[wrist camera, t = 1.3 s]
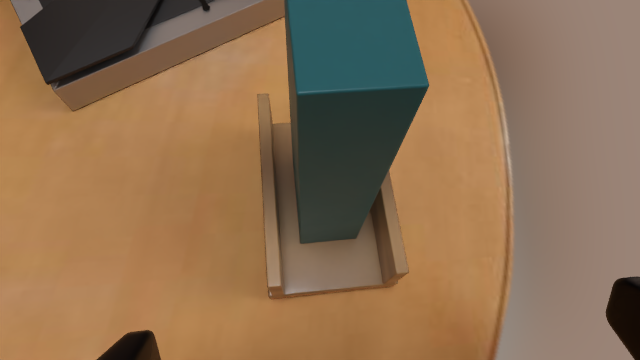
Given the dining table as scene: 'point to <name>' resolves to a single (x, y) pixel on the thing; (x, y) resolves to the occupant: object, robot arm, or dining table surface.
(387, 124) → the teal rectangular block
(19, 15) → the picture frame
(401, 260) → the stand
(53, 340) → the dining table surface
